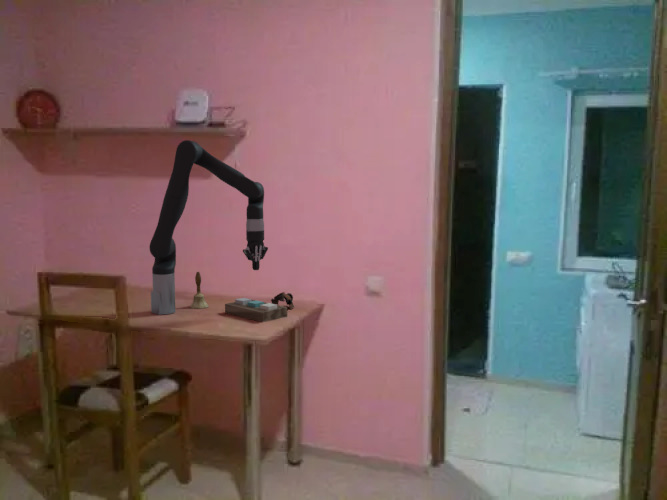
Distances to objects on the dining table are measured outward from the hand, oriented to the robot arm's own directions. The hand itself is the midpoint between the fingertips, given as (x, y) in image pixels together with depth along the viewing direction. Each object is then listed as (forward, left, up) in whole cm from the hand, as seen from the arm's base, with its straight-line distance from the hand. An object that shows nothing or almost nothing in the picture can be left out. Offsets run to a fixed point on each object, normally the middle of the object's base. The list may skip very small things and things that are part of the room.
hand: (255, 269), depth 261 cm
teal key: (0, 0, -16) cm, 16 cm away
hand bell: (-7, +30, -20) cm, 37 cm away
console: (0, 0, -19) cm, 19 cm away
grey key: (0, +8, -16) cm, 18 cm away
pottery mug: (+18, +1, -20) cm, 27 cm away
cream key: (0, -8, -16) cm, 18 cm away
